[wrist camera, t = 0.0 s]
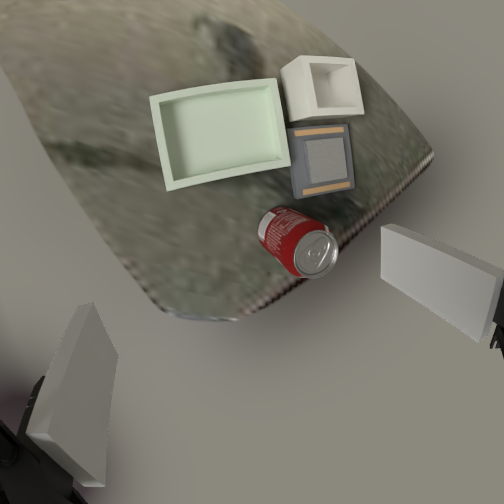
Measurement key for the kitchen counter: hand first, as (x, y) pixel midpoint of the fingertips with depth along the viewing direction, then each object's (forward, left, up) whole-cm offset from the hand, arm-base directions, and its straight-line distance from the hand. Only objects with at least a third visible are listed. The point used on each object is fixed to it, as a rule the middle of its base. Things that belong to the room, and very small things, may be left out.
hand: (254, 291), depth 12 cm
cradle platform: (-2, +19, -27) cm, 33 cm away
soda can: (+7, +11, -28) cm, 31 cm away
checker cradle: (-2, +19, -28) cm, 34 cm away
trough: (-8, +5, -28) cm, 30 cm away
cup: (-12, +19, -28) cm, 36 cm away
